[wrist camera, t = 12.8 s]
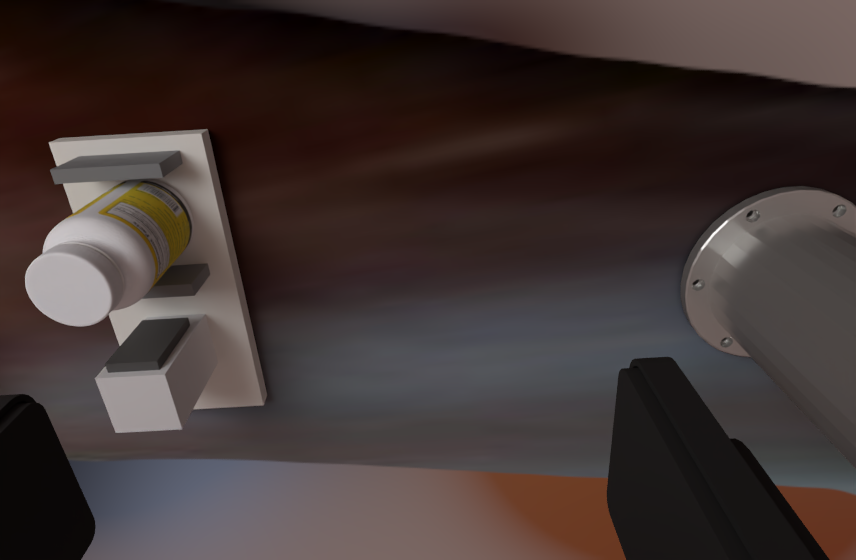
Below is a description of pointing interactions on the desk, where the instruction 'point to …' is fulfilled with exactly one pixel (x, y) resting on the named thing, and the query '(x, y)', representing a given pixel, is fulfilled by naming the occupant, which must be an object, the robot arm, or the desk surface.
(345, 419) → the desk surface
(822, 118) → the desk surface
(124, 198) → the supplement bottle
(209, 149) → the white rack stand
